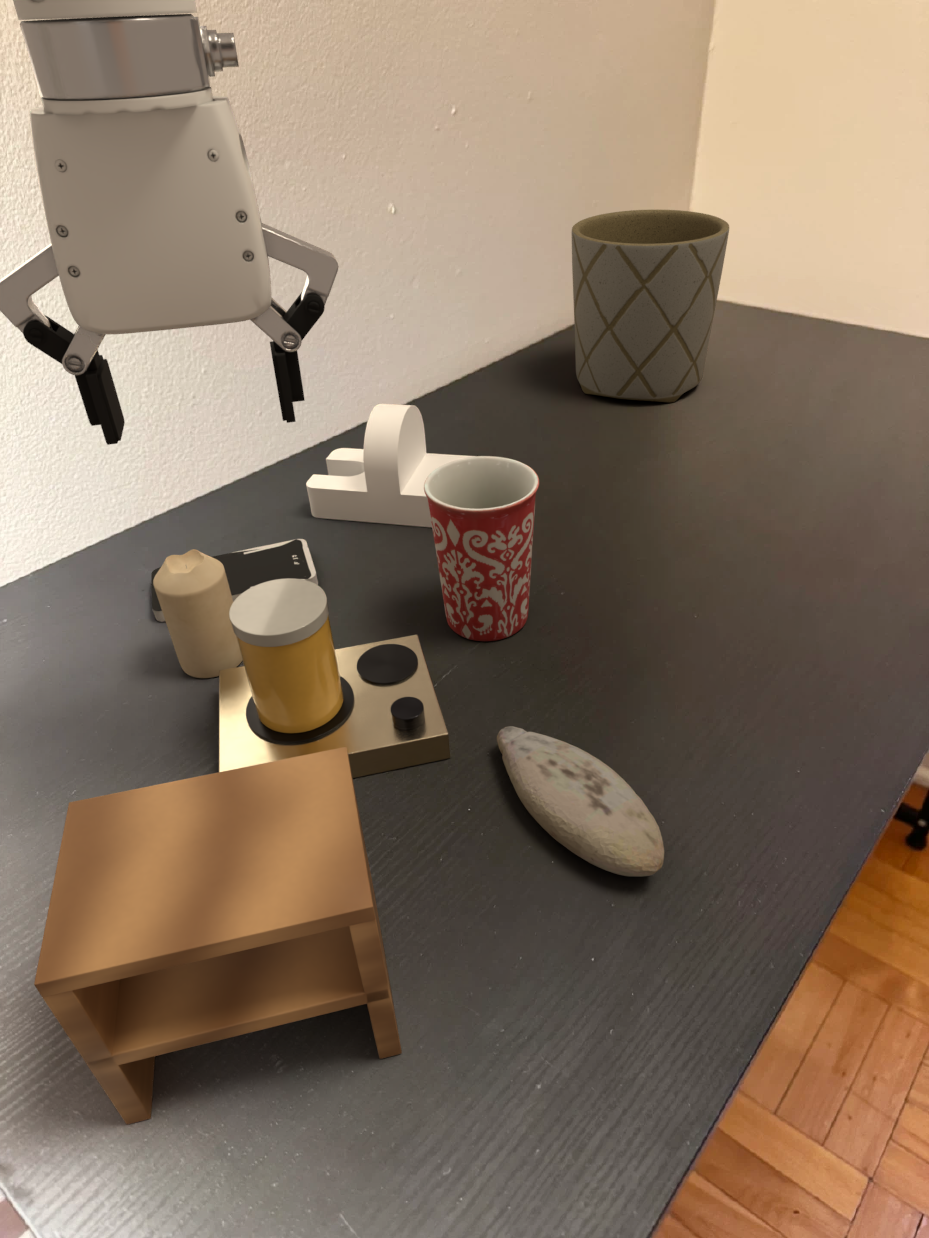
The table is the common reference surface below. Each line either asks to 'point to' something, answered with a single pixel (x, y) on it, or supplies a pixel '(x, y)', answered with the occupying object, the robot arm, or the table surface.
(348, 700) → the hob
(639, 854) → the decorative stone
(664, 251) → the planter
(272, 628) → the jar
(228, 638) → the candle
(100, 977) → the shelf
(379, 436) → the u-slot stand
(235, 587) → the smartphone
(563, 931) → the table surface
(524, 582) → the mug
